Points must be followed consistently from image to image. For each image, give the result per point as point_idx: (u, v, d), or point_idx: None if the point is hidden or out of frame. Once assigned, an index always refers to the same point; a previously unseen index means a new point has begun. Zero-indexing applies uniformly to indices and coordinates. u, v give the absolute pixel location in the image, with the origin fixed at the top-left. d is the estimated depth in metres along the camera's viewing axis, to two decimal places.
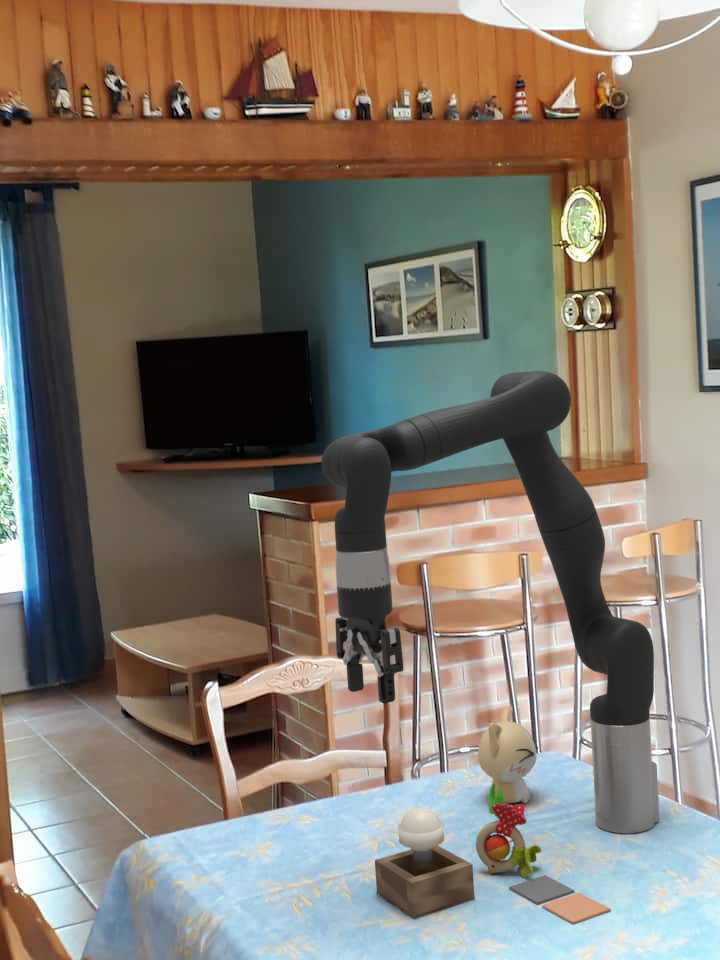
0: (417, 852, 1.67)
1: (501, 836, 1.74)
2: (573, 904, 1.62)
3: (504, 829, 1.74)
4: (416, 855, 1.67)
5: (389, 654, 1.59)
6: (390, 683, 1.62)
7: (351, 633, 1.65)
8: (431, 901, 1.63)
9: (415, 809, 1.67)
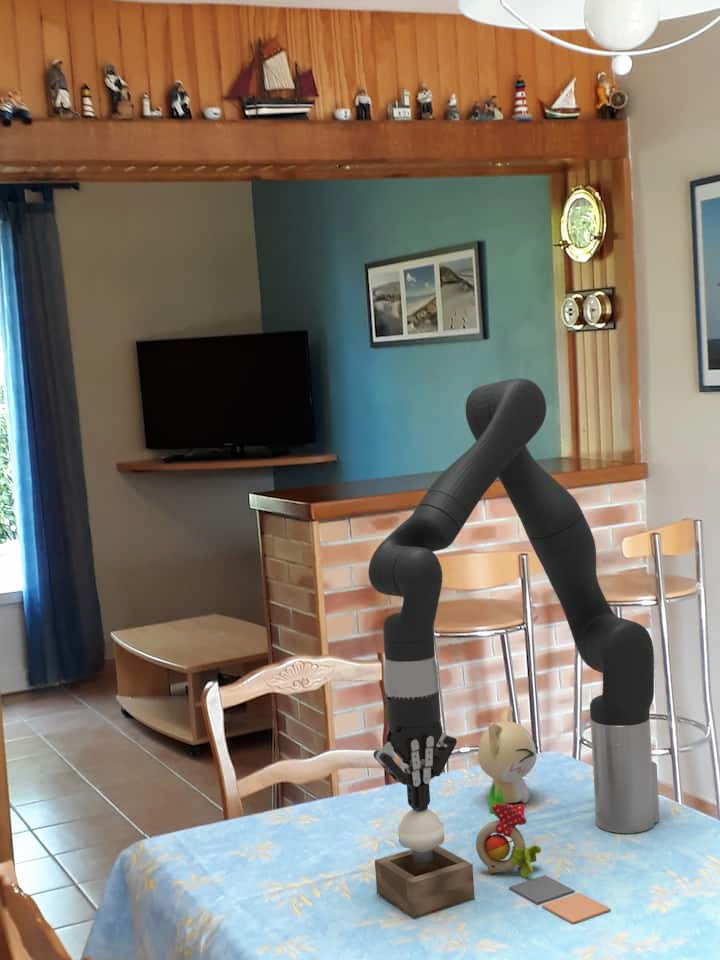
0: (417, 853, 1.67)
1: (501, 836, 1.74)
2: (573, 904, 1.62)
3: (504, 829, 1.74)
4: (416, 856, 1.67)
5: None
6: None
7: (415, 741, 1.65)
8: (431, 901, 1.63)
9: None
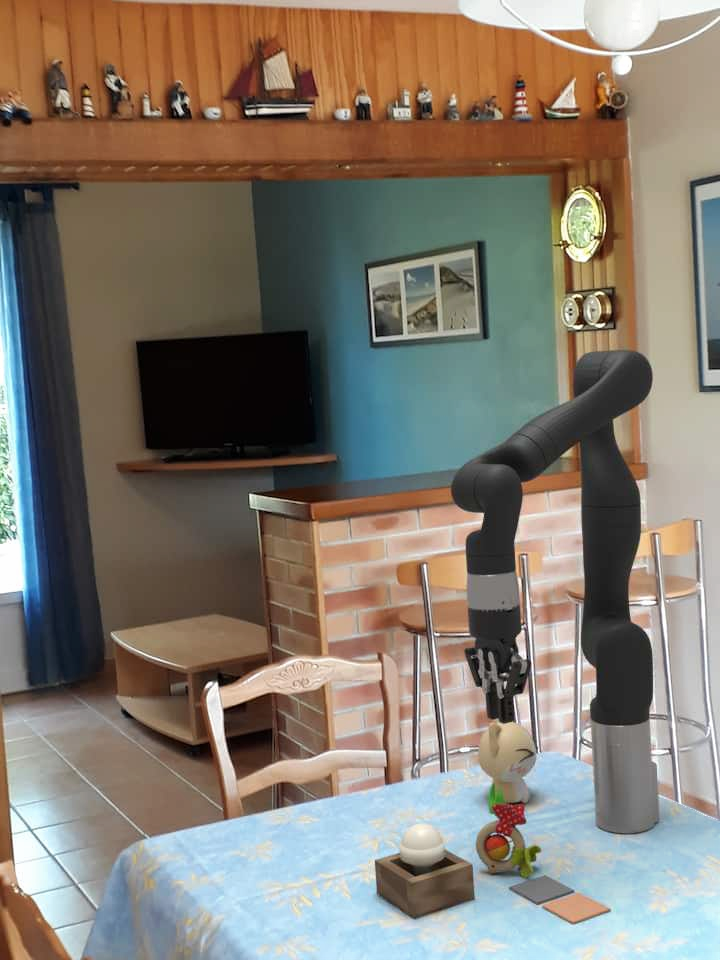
0: (418, 868, 1.67)
1: (501, 836, 1.74)
2: (573, 904, 1.62)
3: (504, 829, 1.74)
4: (417, 871, 1.67)
5: None
6: None
7: None
8: (431, 901, 1.63)
9: (416, 825, 1.68)
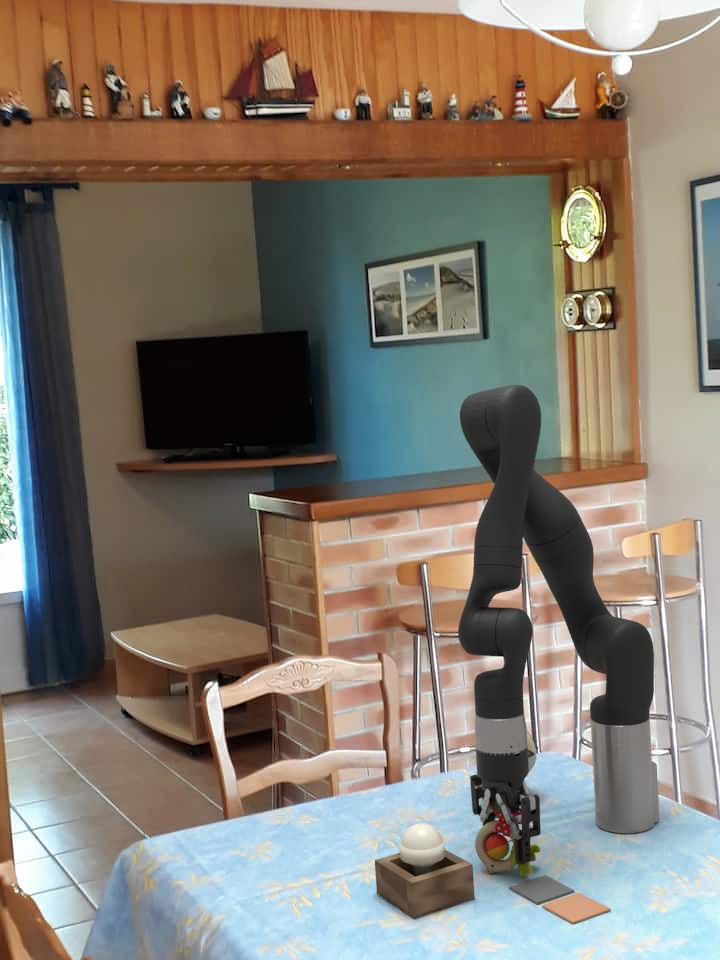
0: (418, 868, 1.67)
1: (500, 836, 1.75)
2: (573, 904, 1.62)
3: (503, 829, 1.74)
4: (417, 871, 1.67)
5: None
6: None
7: None
8: (431, 901, 1.63)
9: (416, 825, 1.68)
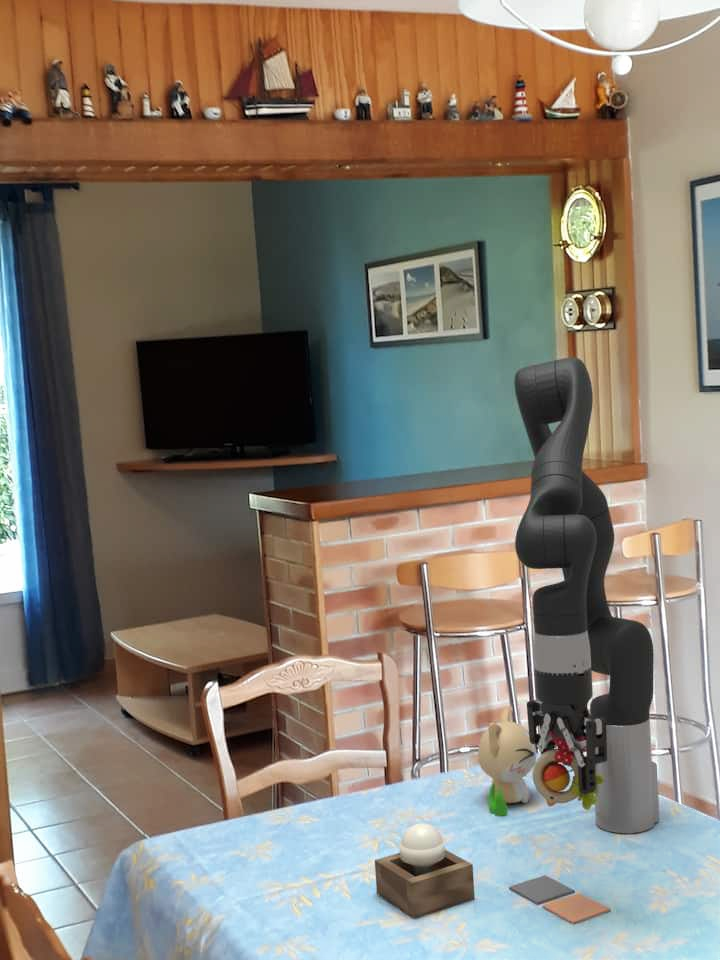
0: (418, 868, 1.67)
1: (560, 765, 1.61)
2: (573, 904, 1.62)
3: (564, 757, 1.60)
4: (417, 871, 1.67)
5: None
6: None
7: None
8: (431, 901, 1.63)
9: (416, 825, 1.68)
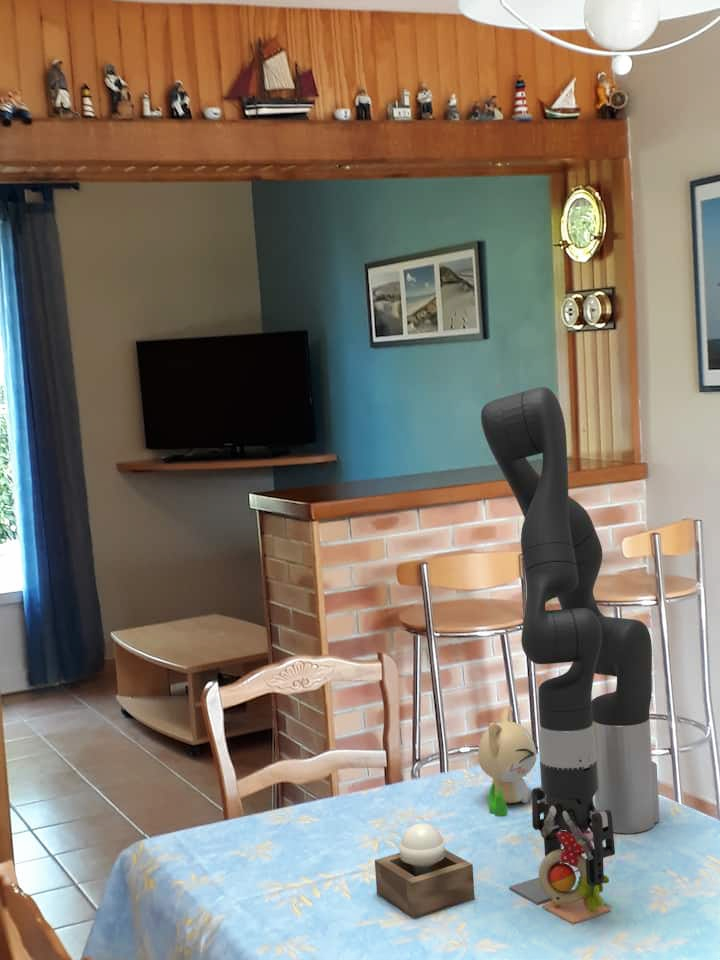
0: (418, 868, 1.67)
1: (566, 865, 1.61)
2: (573, 904, 1.62)
3: (570, 858, 1.61)
4: (417, 871, 1.67)
5: None
6: None
7: None
8: (431, 901, 1.63)
9: (416, 825, 1.68)
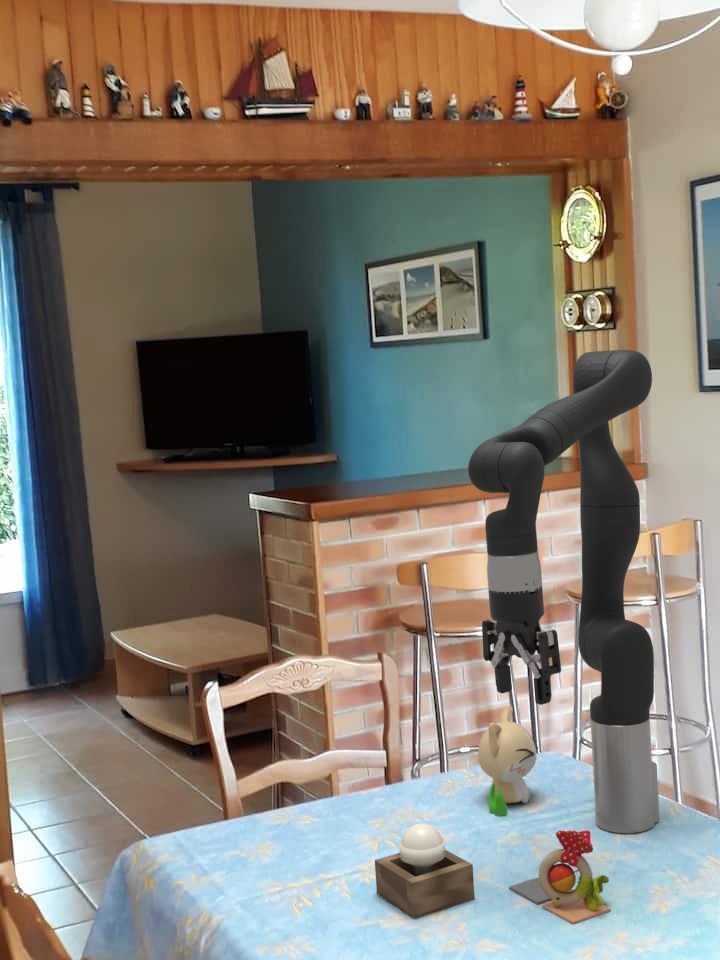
0: (418, 868, 1.67)
1: (566, 866, 1.61)
2: (573, 904, 1.62)
3: (570, 858, 1.61)
4: (417, 871, 1.67)
5: None
6: None
7: None
8: (431, 901, 1.63)
9: (416, 825, 1.68)
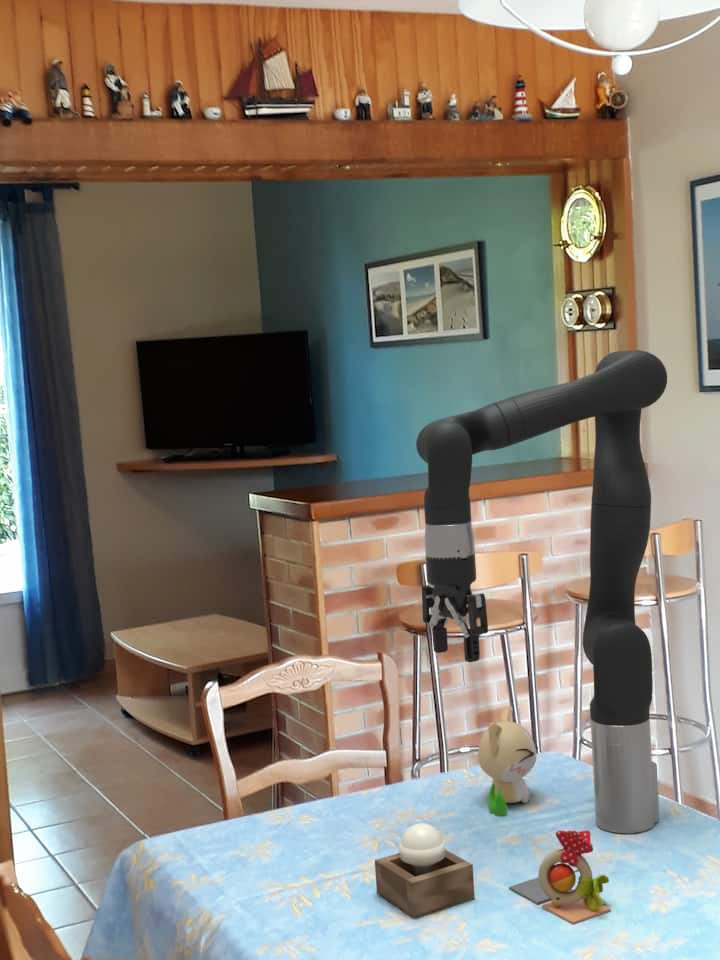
0: (418, 868, 1.67)
1: (566, 866, 1.61)
2: (573, 904, 1.62)
3: (570, 858, 1.61)
4: (417, 871, 1.67)
5: None
6: None
7: None
8: (431, 901, 1.63)
9: (416, 825, 1.68)
